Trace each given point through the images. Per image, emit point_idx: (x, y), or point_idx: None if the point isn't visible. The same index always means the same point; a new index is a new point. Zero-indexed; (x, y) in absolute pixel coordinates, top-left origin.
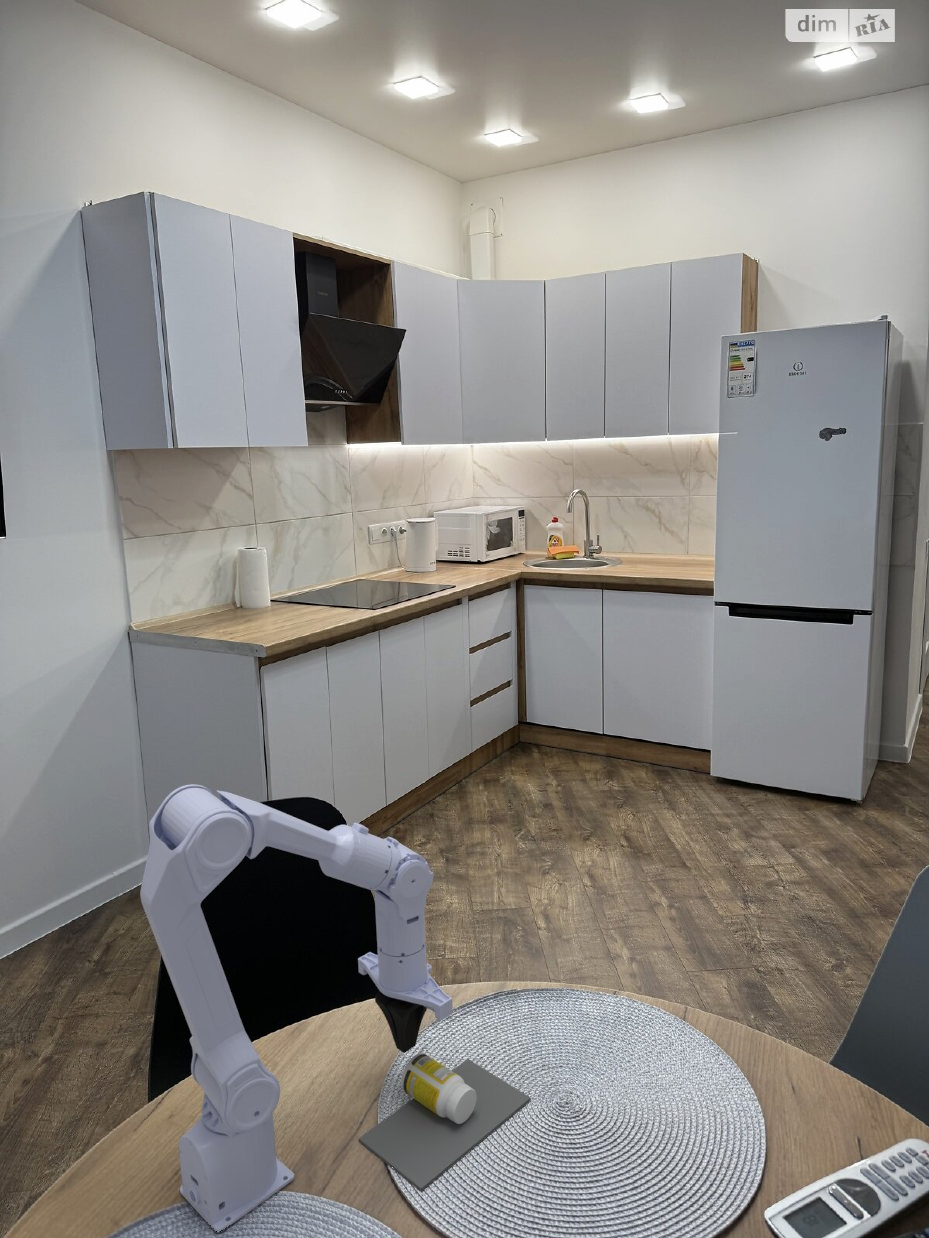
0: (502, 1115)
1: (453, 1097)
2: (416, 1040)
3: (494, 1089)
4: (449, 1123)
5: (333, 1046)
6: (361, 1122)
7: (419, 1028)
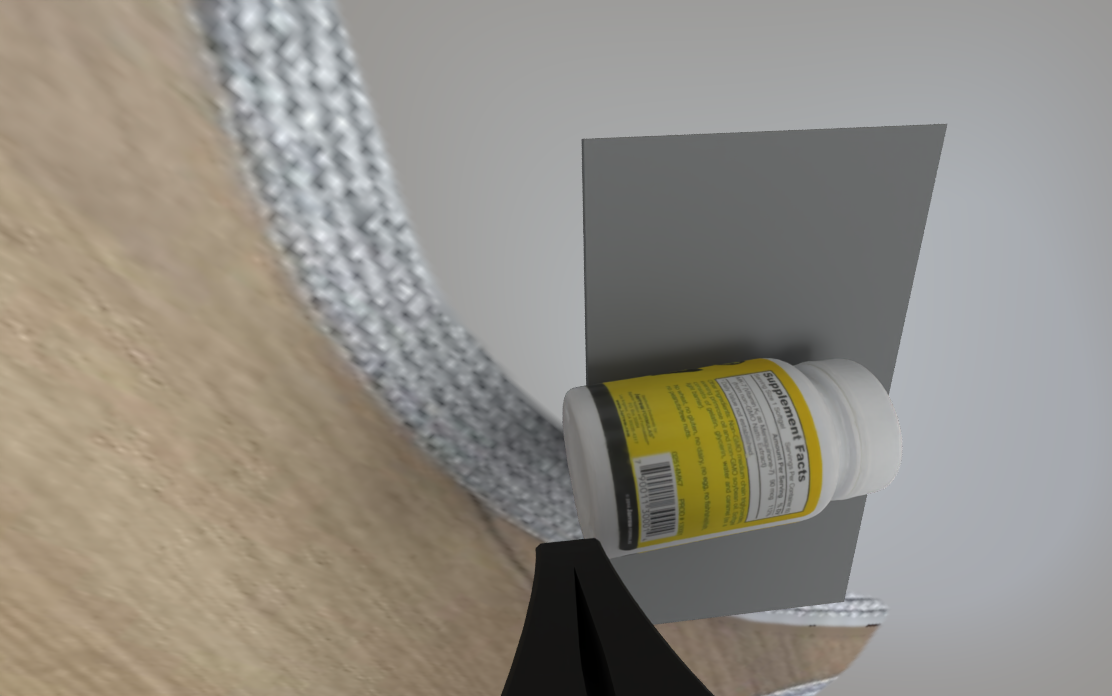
0: (895, 276)
1: (858, 495)
2: (605, 554)
3: (798, 199)
4: None
5: (109, 486)
6: None
7: (639, 606)
